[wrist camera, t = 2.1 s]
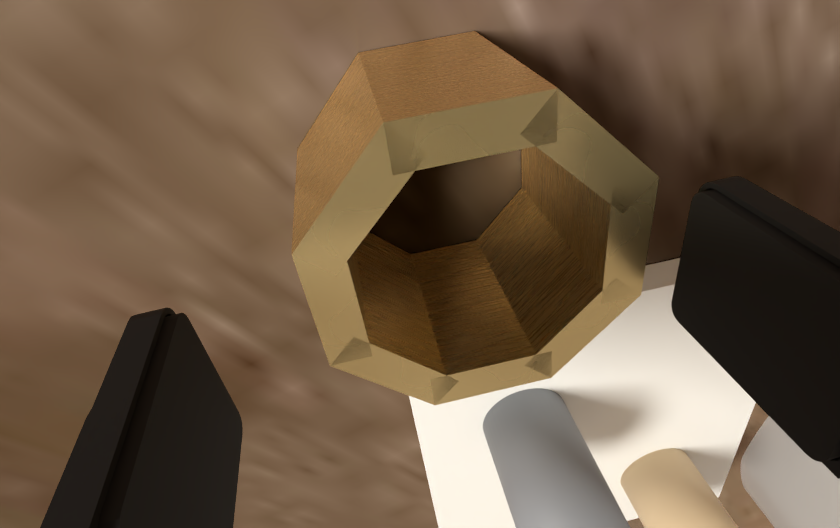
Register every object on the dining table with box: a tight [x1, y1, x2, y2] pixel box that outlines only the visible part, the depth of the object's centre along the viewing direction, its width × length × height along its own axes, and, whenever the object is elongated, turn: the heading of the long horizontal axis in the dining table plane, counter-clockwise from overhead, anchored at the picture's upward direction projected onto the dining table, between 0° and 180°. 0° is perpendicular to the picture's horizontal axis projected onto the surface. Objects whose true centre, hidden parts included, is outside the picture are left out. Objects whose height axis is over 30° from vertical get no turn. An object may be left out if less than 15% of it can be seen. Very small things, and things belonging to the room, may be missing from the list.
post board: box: [409, 258, 756, 528], centre depth 18 cm, size 14×15×8 cm
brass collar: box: [292, 31, 659, 405], centre depth 12 cm, size 7×7×5 cm
